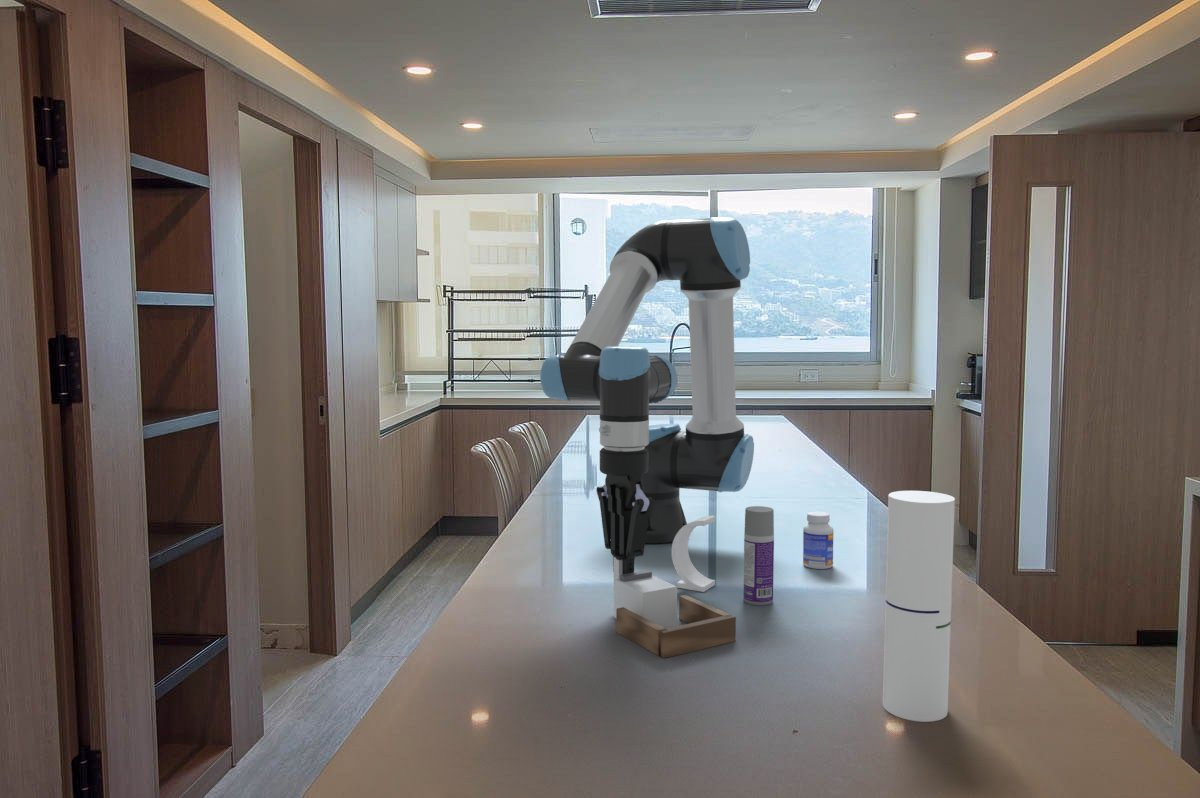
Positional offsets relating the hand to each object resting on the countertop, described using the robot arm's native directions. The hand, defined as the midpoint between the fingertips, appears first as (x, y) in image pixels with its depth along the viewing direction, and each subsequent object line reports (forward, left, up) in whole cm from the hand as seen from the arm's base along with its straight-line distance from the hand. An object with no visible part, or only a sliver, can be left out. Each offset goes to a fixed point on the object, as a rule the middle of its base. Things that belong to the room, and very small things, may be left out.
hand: (623, 597), depth 139 cm
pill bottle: (-3, +44, -2) cm, 44 cm away
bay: (+13, 0, -2) cm, 13 cm away
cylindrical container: (+47, +10, -2) cm, 48 cm away
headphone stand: (-5, +17, -2) cm, 18 cm away
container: (+7, +21, -2) cm, 22 cm away
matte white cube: (+6, 0, -2) cm, 6 cm away
